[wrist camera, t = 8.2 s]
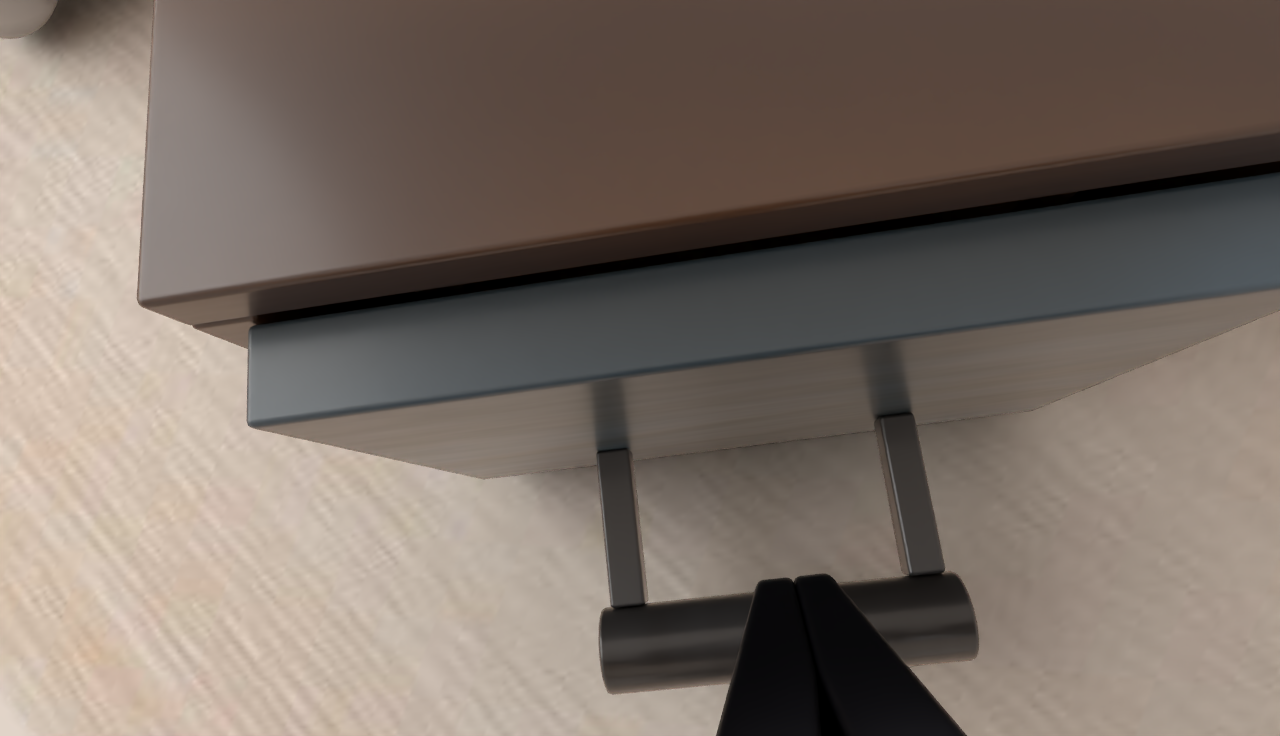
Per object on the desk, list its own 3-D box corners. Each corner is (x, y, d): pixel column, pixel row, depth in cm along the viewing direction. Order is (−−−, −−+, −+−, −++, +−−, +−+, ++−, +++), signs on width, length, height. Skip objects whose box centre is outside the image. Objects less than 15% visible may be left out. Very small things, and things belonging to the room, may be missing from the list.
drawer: (1087, 626, 13) (1550, 749, 6) (493, 685, 14) (234, 852, 7) (910, -100, 17) (1049, -590, 10) (452, -13, 18) (258, -396, 11)
